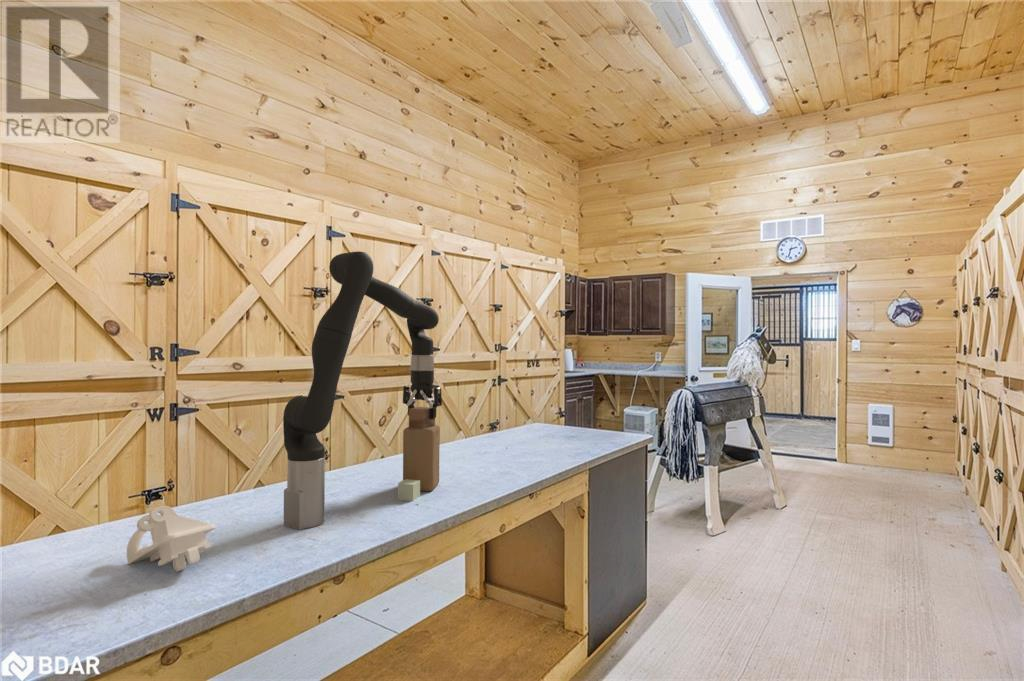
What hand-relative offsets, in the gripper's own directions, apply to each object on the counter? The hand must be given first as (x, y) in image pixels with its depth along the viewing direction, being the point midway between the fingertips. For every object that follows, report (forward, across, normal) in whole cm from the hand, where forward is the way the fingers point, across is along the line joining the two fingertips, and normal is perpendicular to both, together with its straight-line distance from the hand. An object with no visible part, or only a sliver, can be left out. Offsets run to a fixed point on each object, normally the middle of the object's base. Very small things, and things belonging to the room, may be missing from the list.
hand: (421, 418), depth 175 cm
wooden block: (+23, 0, 0) cm, 23 cm away
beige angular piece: (+23, -9, -74) cm, 78 cm away
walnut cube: (+3, 0, 0) cm, 3 cm away
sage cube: (+23, +4, -11) cm, 26 cm away
